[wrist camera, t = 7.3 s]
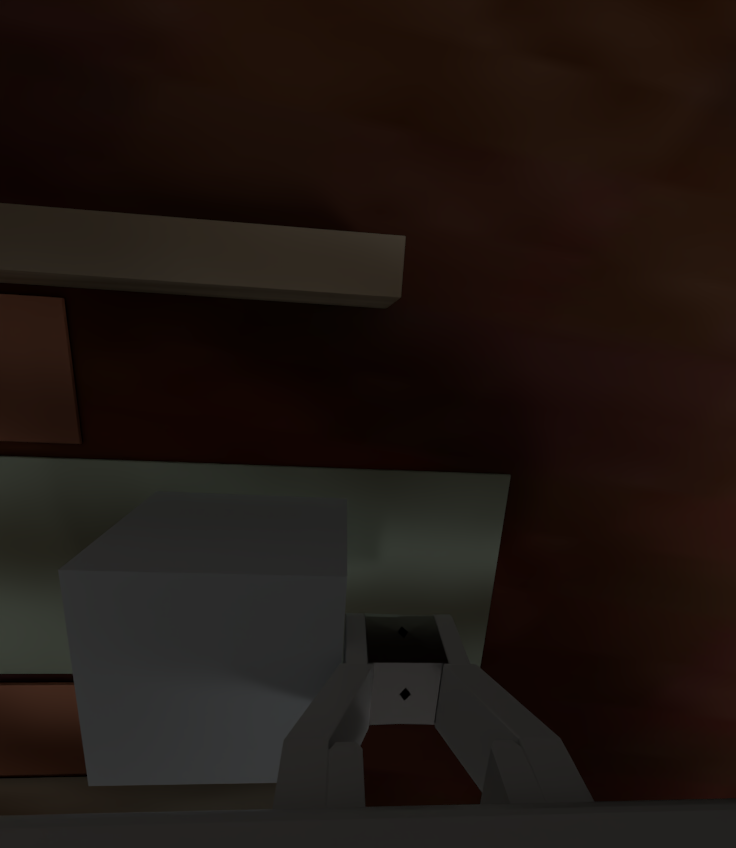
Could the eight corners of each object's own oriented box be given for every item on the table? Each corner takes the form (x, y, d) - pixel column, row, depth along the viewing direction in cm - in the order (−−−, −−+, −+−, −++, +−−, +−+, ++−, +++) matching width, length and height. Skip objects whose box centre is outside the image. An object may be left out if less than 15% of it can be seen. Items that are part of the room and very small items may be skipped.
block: (338, 651, 13) (334, 781, 9) (167, 649, 13) (88, 785, 9) (347, 498, 12) (347, 576, 8) (156, 491, 11) (58, 569, 8)
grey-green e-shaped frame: (459, 790, 15) (486, 896, 12) (-150, 805, 14) (-284, 932, 11) (540, 276, 11) (613, 253, 8) (-367, 207, 9) (-706, 144, 6)
